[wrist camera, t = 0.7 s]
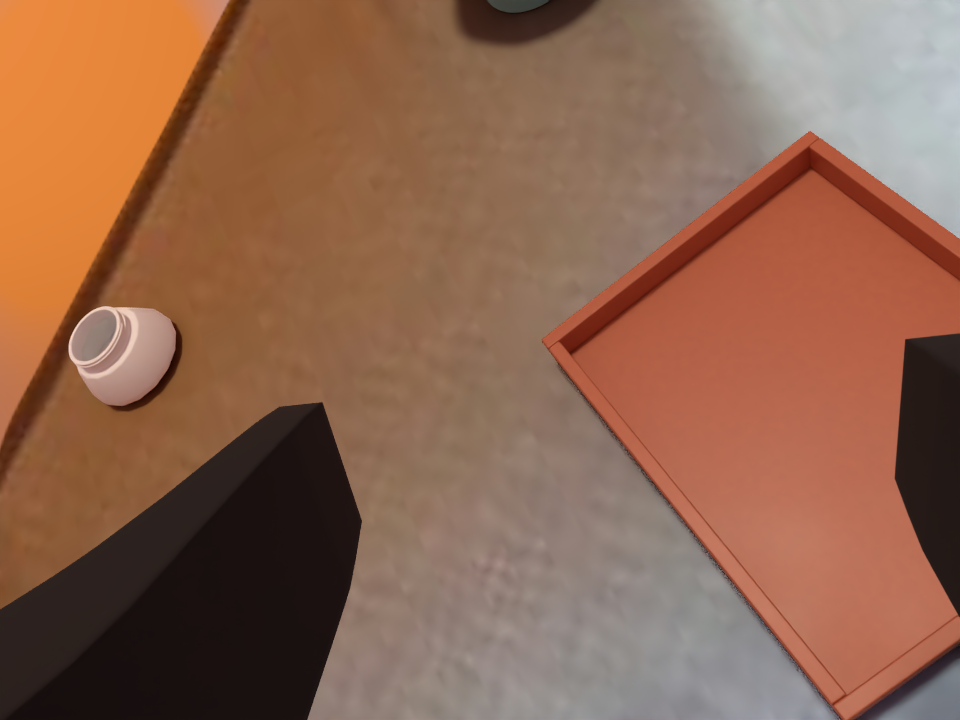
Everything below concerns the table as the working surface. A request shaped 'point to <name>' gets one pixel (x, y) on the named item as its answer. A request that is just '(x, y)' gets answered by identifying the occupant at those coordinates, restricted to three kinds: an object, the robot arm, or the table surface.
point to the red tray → (788, 406)
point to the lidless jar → (122, 352)
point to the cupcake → (516, 5)
